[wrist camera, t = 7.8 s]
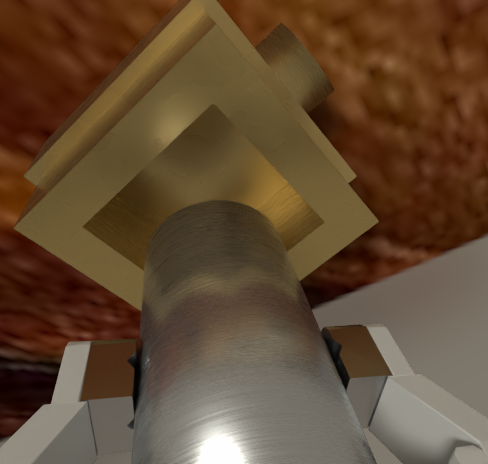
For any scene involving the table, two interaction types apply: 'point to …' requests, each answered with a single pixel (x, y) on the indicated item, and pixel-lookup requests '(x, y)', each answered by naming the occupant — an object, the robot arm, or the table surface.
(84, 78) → the table surface
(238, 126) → the valve body
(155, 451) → the silver metal cylinder
